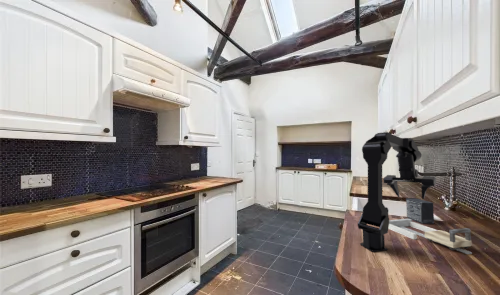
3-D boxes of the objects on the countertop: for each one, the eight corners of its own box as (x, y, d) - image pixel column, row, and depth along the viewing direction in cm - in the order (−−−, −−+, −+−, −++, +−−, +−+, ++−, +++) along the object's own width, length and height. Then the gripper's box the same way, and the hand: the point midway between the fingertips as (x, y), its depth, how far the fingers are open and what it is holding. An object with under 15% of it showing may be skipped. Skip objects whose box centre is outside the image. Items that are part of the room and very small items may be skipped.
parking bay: (452, 256, 70) (452, 247, 70) (384, 227, 98) (384, 220, 98) (485, 251, 72) (485, 243, 72) (409, 224, 100) (409, 218, 100)
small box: (435, 224, 101) (434, 202, 101) (422, 224, 101) (421, 202, 101) (418, 217, 111) (417, 198, 112) (406, 217, 111) (405, 198, 112)
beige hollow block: (453, 251, 72) (452, 230, 72) (424, 240, 82) (423, 221, 82) (471, 249, 73) (470, 229, 74) (441, 238, 83) (440, 220, 83)
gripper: (436, 161, 92) (440, 194, 93) (388, 161, 107) (392, 190, 108) (431, 166, 85) (436, 203, 86) (381, 166, 100) (385, 197, 101)
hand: (410, 197), depth 95 cm, fingers open, 9 cm apart
